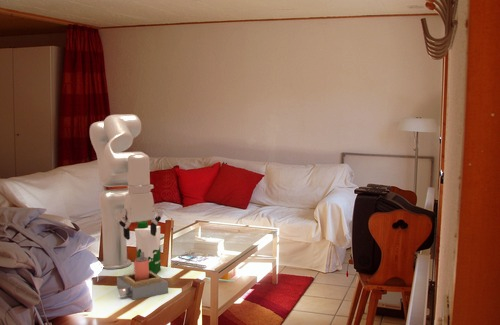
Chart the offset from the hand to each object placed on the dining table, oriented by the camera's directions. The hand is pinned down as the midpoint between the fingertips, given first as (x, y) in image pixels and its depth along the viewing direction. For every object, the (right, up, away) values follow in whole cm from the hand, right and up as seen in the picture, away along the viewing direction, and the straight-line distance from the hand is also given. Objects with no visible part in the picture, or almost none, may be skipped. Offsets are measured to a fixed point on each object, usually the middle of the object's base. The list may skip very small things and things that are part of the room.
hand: (140, 236), depth 194 cm
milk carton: (-1, -17, +24) cm, 29 cm away
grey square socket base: (-1, -19, +1) cm, 19 cm away
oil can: (0, -18, +2) cm, 18 cm away
